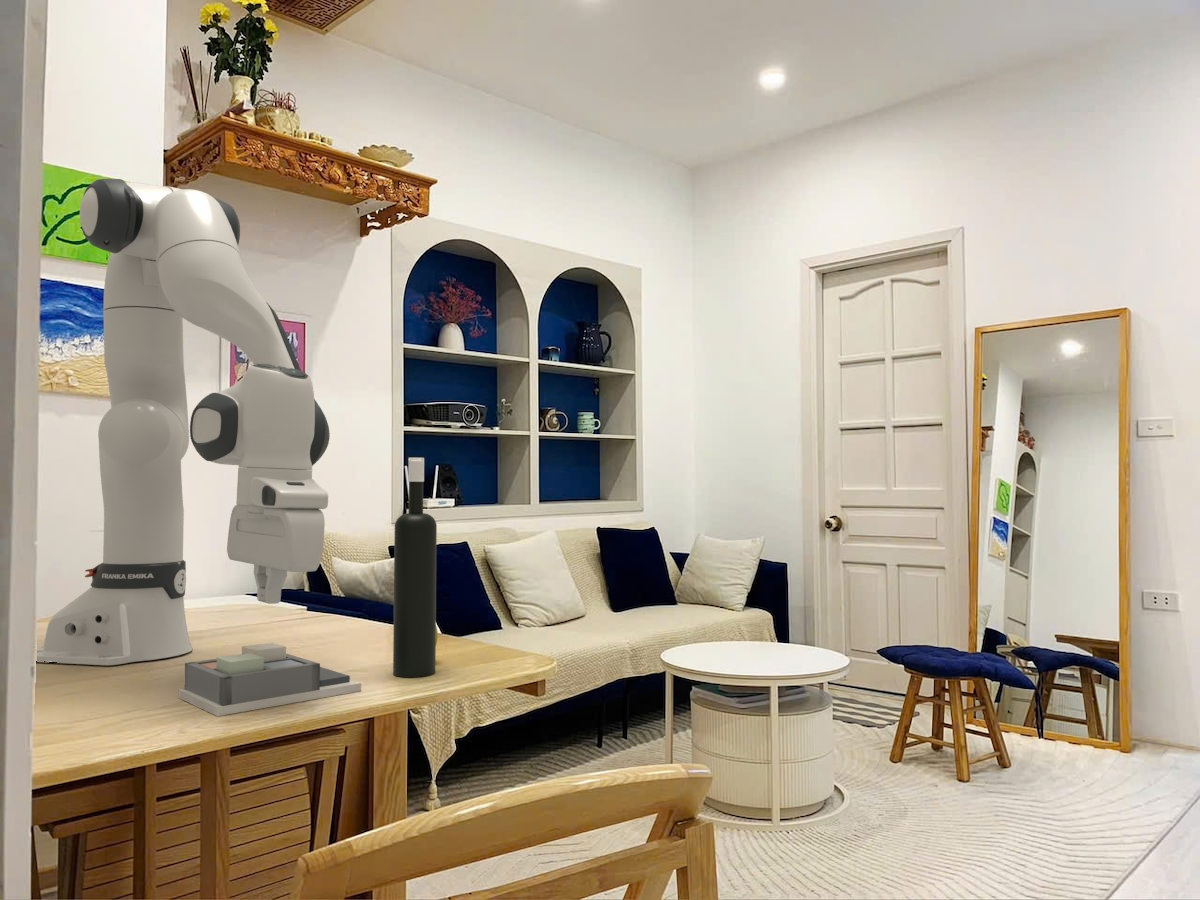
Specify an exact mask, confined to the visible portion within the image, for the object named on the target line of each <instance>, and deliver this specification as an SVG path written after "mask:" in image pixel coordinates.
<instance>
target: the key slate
mask: <svg viewBox="0 0 1200 900" xmlns="http://www.w3.org/2000/svg"><path fill="white" fill-rule="evenodd" d="M295 665H302V663H299V662H296V661H293V660H285V661H278V662H271V663H264V666H265V667H268V668H271V669H275V668H281V667H288V666H295Z"/></svg>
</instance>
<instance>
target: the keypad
mask: <svg viewBox="0 0 1200 900" xmlns="http://www.w3.org/2000/svg"><path fill="white" fill-rule="evenodd" d="M285 660H293V661H296V662H299V663H302V665H295V666H288V667H281V668H275V669H271V668H268V667H265V666H264V670H261V671H254V672H247V673H240V674H233V675H227V674H224V673H221V672H219V671H216V668H212V669H211V668H208V667H206V666H203V665H200V664H205V663H212V662H217V658H213V659H206V660H198V661H197V660H196V661H190V662H185V663H184V688H183V689H179V690H178V692H179V693H178V699H180V700H182V701H184V702H187V703H188V704H191V705H192V706H195V707H197V708H199V709H201V710H203V711H205V712H208V713H210V714H212V715H214V716H216V717H220V716H225V715H226V716H228V715H231V714H232V715H234V714H238V713H244V712H249V711H254V710H260V709H266V708H267V709H268V708H272V707H279V706H283V705H287V704H288V705H289V704H294V703H295V704H296V703H300V702H306V701H313V700H317V699H323V698H328V697H335V696H341V695H346V694H352V693H353V694H354V693H359V692H362V682H359V681H356V680H353V679H350V675H349V674H345V673H342V672H338V671H336V670H333V669H329V668H325V667H322V666H321V663H319V662H316V661H313V660H309V659H307V658H306V659H305V658H302V657H299V656H296V655H293V654H289V653H287V652H286V658H284V659H276V660H269V661H264V663H271V662H278V661H285Z"/></svg>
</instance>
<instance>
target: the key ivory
mask: <svg viewBox="0 0 1200 900" xmlns="http://www.w3.org/2000/svg"><path fill="white" fill-rule="evenodd" d="M246 653H251V654H254V655H257V656H261V657H264V661H269V660H276V659H284V658H286V653H287V646H286V645H283V644H279V643H275V642H268V643H258V644H250V645H241V654H246Z"/></svg>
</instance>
